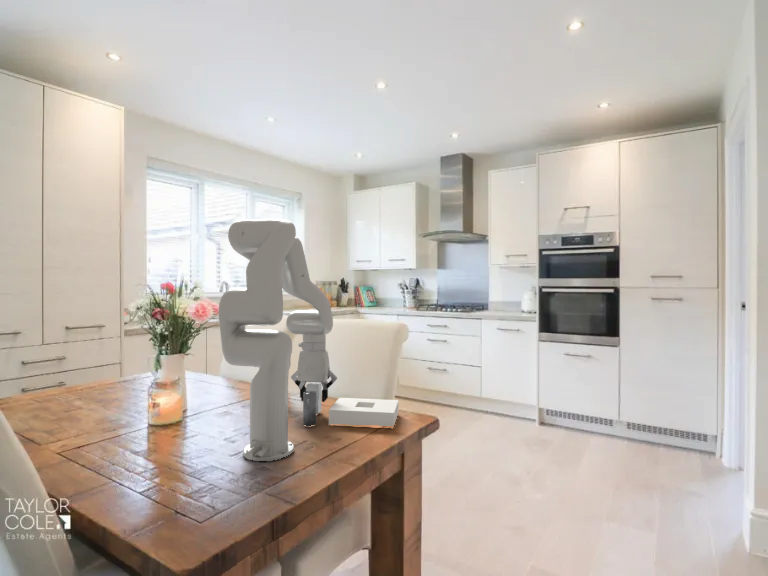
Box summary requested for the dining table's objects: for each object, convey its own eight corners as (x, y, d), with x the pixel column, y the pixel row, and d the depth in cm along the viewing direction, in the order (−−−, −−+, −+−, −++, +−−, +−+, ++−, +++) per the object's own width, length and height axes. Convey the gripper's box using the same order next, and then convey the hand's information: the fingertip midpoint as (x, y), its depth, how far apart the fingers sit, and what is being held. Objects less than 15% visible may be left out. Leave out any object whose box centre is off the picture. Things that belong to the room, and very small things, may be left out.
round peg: (314, 427, 131) (314, 394, 131) (301, 427, 131) (301, 394, 131) (317, 423, 135) (318, 391, 135) (305, 422, 135) (305, 390, 135)
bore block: (393, 429, 130) (393, 412, 130) (328, 426, 132) (328, 409, 132) (398, 415, 143) (398, 400, 143) (339, 412, 146) (339, 397, 146)
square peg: (317, 416, 142) (318, 385, 142) (306, 415, 142) (306, 385, 142) (321, 412, 146) (321, 382, 146) (309, 411, 146) (309, 382, 146)
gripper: (285, 347, 141) (284, 402, 141) (336, 349, 139) (336, 404, 139) (292, 344, 149) (292, 396, 149) (342, 345, 146) (341, 398, 147)
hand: (313, 400), depth 144 cm, fingers open, 6 cm apart
